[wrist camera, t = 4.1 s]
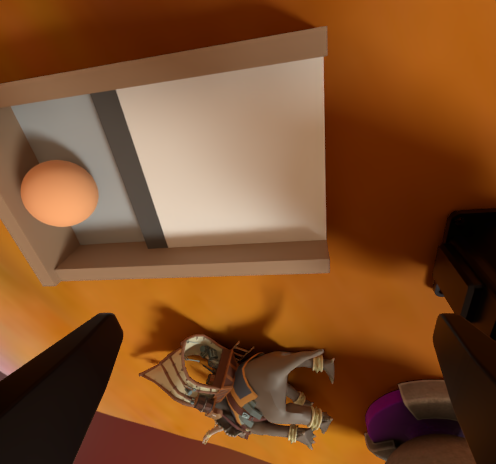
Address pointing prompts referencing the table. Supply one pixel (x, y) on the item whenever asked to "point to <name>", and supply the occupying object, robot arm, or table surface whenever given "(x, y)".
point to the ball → (59, 193)
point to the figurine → (245, 389)
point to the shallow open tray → (178, 162)
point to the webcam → (416, 426)
